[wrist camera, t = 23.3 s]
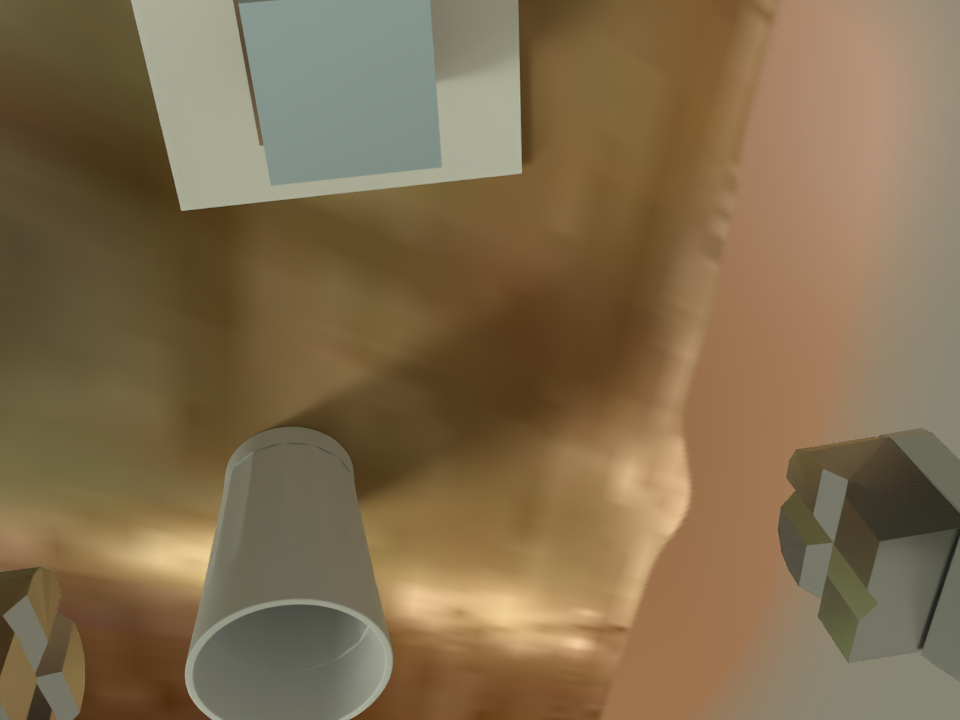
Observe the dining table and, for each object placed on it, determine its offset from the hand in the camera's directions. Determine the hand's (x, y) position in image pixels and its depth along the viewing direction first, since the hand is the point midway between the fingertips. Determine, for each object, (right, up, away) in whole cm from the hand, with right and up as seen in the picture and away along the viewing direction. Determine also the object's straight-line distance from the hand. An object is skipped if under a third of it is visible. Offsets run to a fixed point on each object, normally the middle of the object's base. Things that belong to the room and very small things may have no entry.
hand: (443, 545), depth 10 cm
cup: (-9, -4, +36) cm, 37 cm away
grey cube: (-4, +12, +19) cm, 23 cm away
